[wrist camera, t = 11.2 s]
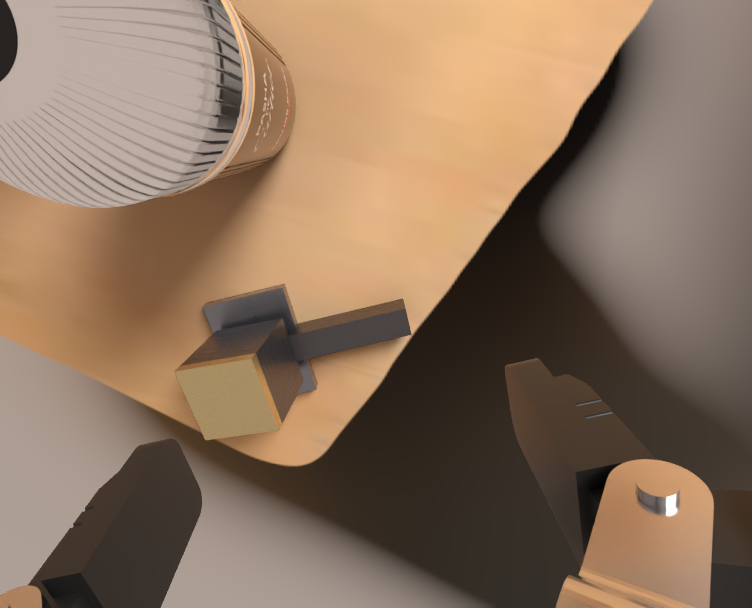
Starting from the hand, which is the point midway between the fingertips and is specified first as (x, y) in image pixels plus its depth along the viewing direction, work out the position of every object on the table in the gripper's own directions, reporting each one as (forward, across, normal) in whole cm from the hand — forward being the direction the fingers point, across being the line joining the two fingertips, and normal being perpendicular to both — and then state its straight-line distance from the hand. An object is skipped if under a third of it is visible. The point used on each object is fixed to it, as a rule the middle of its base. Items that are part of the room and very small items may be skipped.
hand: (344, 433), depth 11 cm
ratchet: (+28, +6, +9) cm, 30 cm away
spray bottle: (+28, +7, -11) cm, 31 cm away
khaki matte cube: (+26, +11, +9) cm, 29 cm away
